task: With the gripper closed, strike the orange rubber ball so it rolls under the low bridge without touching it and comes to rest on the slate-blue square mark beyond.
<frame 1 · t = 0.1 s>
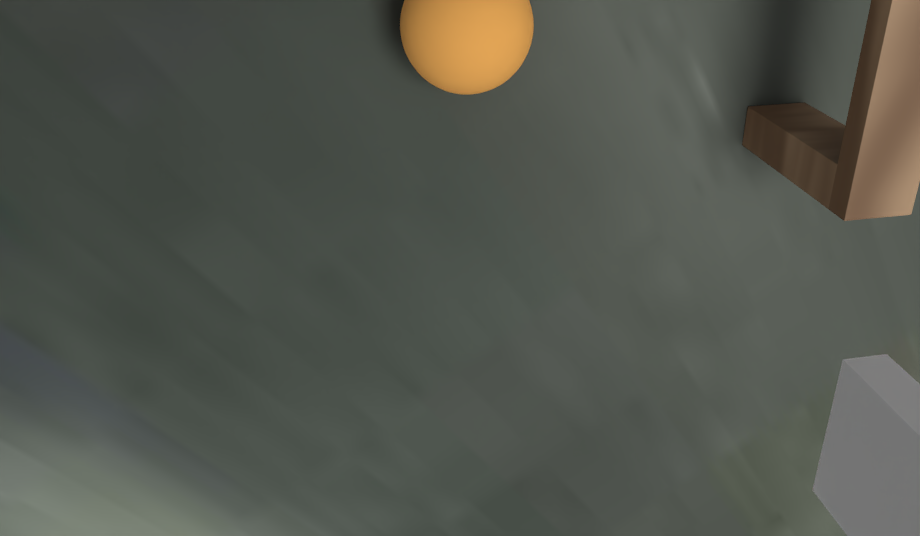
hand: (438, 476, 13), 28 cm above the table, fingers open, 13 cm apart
ball: (466, 26, 35), on the table
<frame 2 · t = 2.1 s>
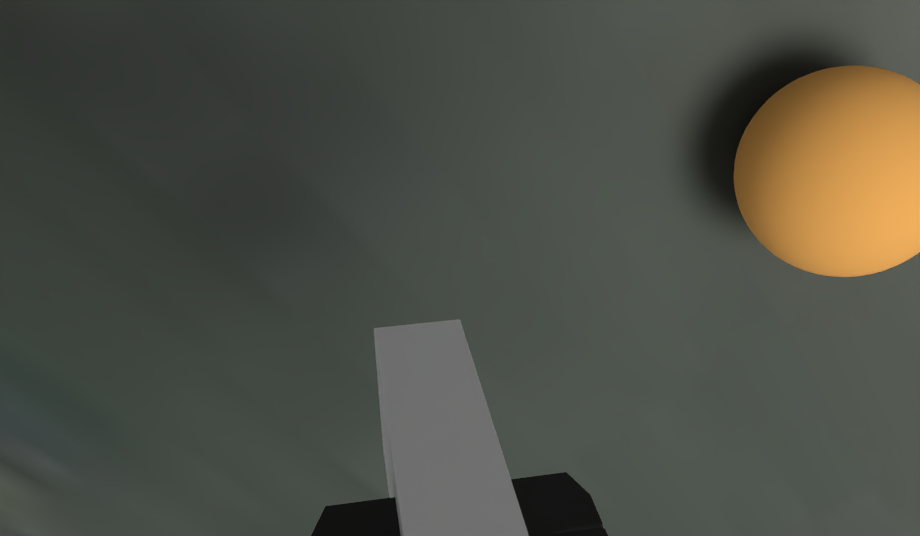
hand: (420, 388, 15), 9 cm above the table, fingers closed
ball: (843, 172, 22), on the table
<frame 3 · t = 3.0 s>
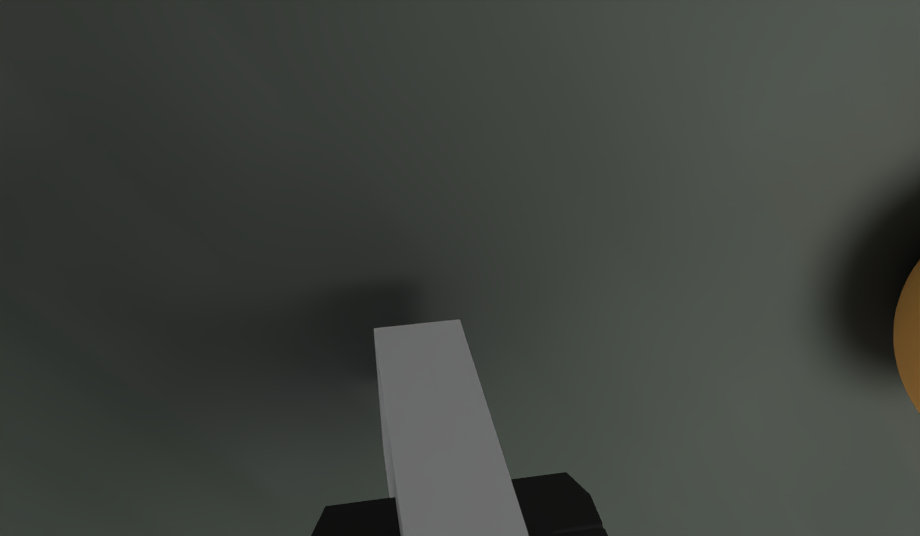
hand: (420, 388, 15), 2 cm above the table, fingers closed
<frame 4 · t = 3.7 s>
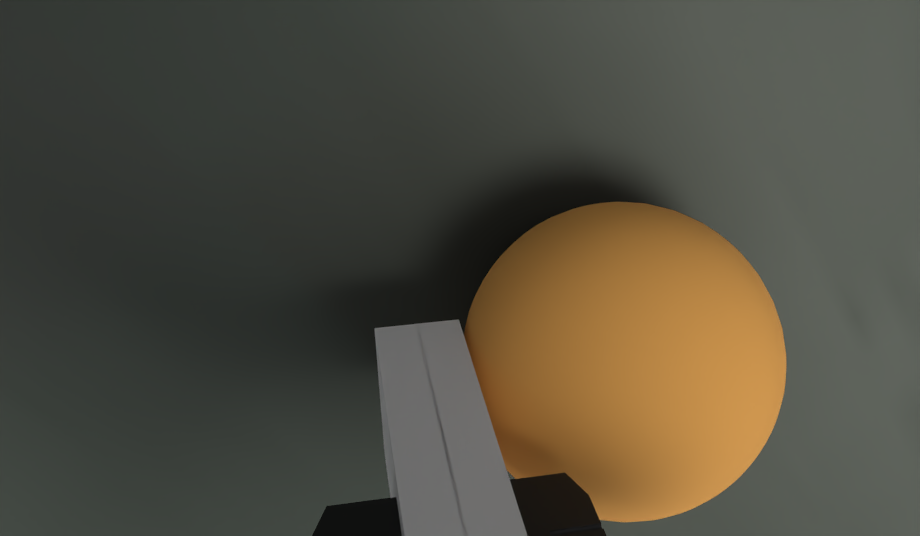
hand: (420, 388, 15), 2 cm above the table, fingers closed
ball: (618, 358, 15), on the table, touching gripper
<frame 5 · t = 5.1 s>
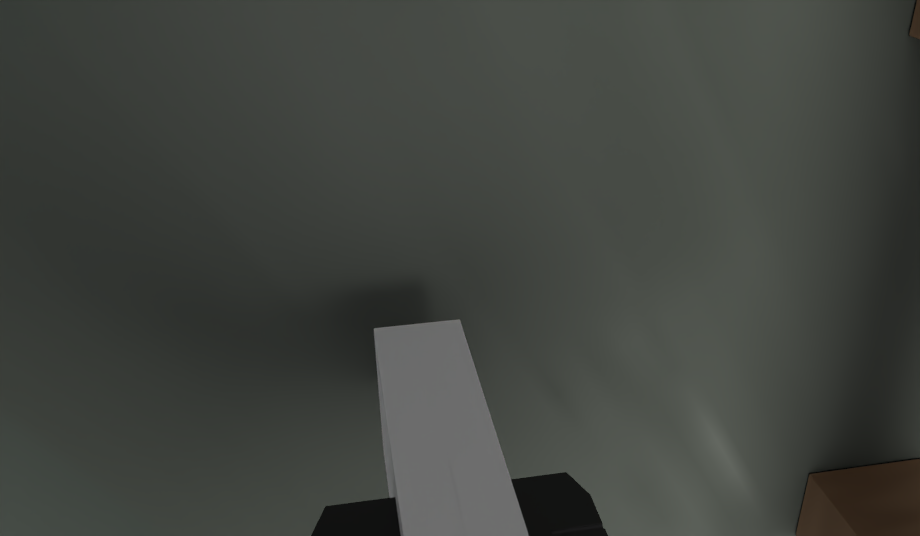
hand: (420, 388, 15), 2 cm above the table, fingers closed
bridge: (916, 278, 18), on the table
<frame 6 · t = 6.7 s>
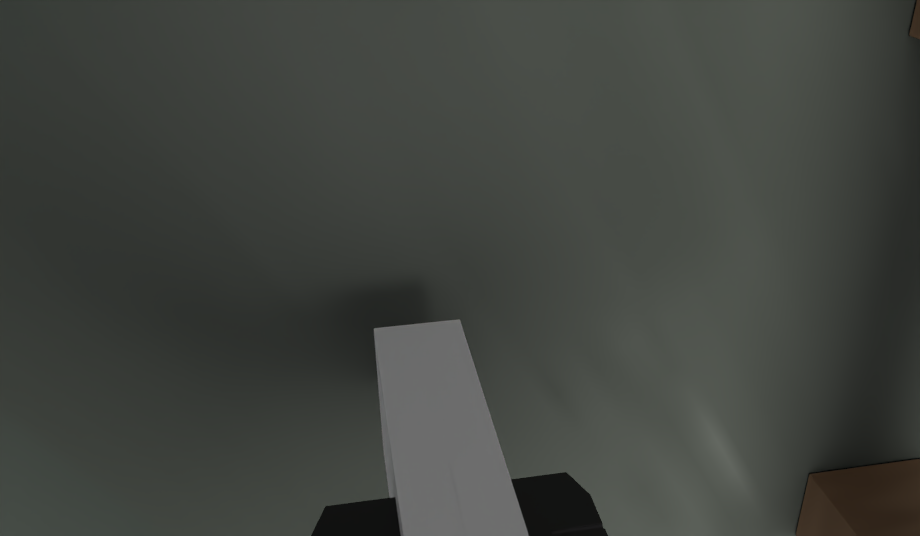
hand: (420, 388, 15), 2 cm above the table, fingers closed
bridge: (916, 278, 18), on the table
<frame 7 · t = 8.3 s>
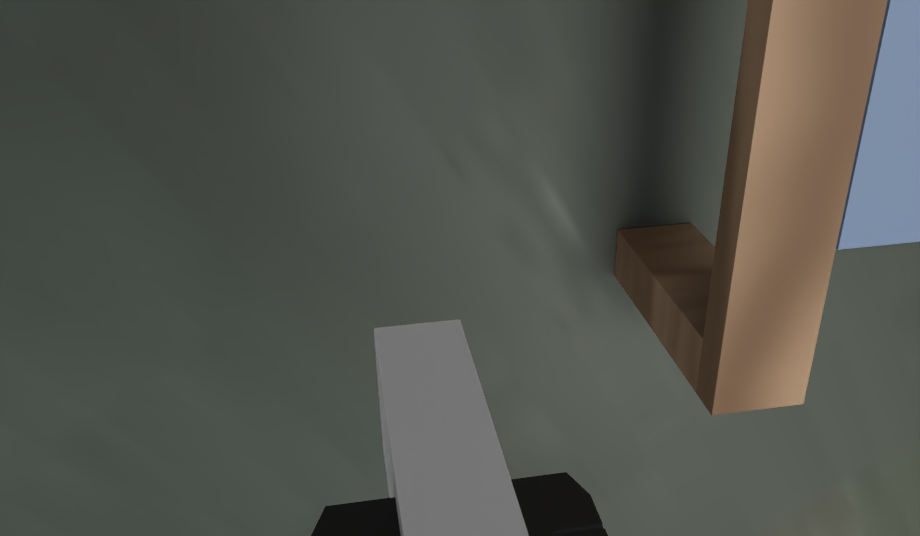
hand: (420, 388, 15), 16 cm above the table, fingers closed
bridge: (667, 95, 31), on the table
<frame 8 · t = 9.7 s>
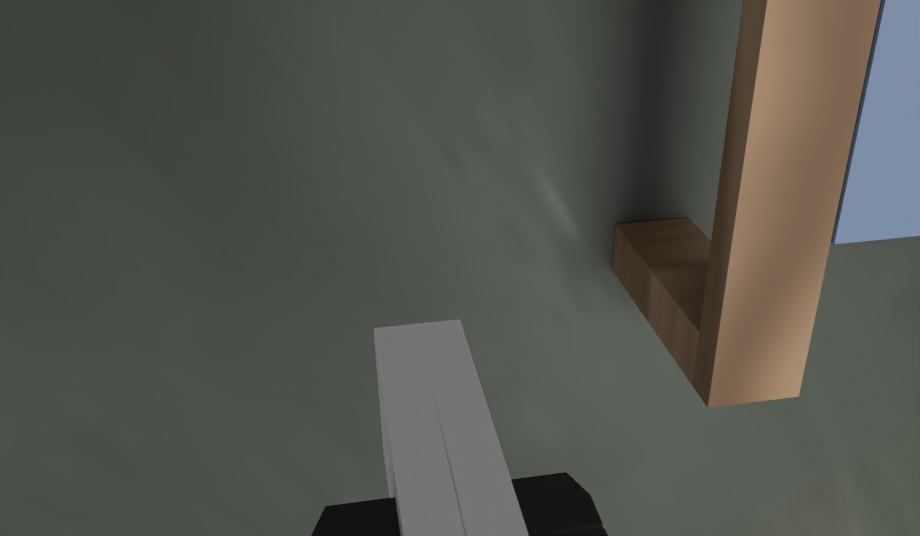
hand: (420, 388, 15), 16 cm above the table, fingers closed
bridge: (664, 90, 31), on the table
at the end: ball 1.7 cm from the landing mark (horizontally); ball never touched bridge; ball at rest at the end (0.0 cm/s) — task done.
